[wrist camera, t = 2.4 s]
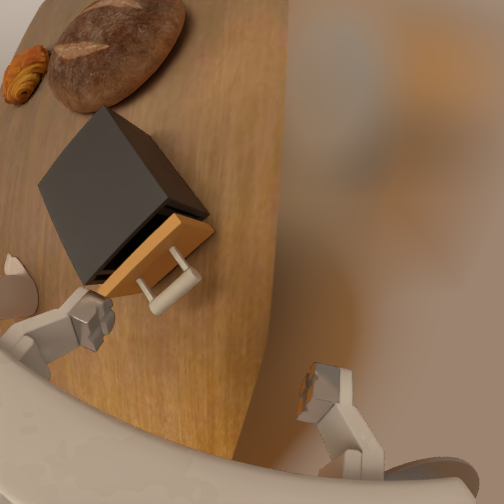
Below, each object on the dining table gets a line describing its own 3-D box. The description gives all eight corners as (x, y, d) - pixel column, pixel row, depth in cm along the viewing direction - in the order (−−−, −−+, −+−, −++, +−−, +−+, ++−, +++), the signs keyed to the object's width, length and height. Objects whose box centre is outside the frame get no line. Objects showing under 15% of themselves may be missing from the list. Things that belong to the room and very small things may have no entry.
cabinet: (210, 214, 35) (168, 197, 25) (138, 280, 37) (83, 285, 27) (149, 135, 38) (103, 104, 27) (90, 198, 39) (37, 185, 29)
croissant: (20, 119, 48) (-5, 113, 40) (14, 78, 48) (-8, 70, 40) (60, 75, 45) (35, 64, 38) (50, 38, 45) (29, 26, 37)
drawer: (238, 261, 34) (211, 262, 25) (167, 320, 35) (125, 336, 27) (154, 152, 36) (115, 127, 28) (98, 211, 38) (53, 201, 29)
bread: (112, 4, 42) (88, -21, 32) (218, 1, 36) (198, -39, 27) (45, 106, 43) (11, 88, 34) (135, 130, 38) (93, 102, 28)
